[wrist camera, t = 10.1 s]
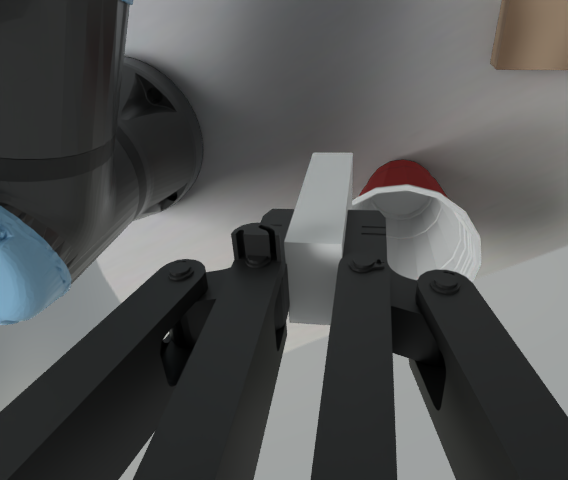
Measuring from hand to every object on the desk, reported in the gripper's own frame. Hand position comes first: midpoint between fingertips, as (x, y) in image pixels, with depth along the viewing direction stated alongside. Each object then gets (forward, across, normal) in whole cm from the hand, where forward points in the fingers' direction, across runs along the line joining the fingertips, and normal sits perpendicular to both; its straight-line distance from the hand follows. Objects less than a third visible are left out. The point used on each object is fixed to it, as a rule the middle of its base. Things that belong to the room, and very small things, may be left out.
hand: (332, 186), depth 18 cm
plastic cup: (+24, -4, +11) cm, 27 cm away
